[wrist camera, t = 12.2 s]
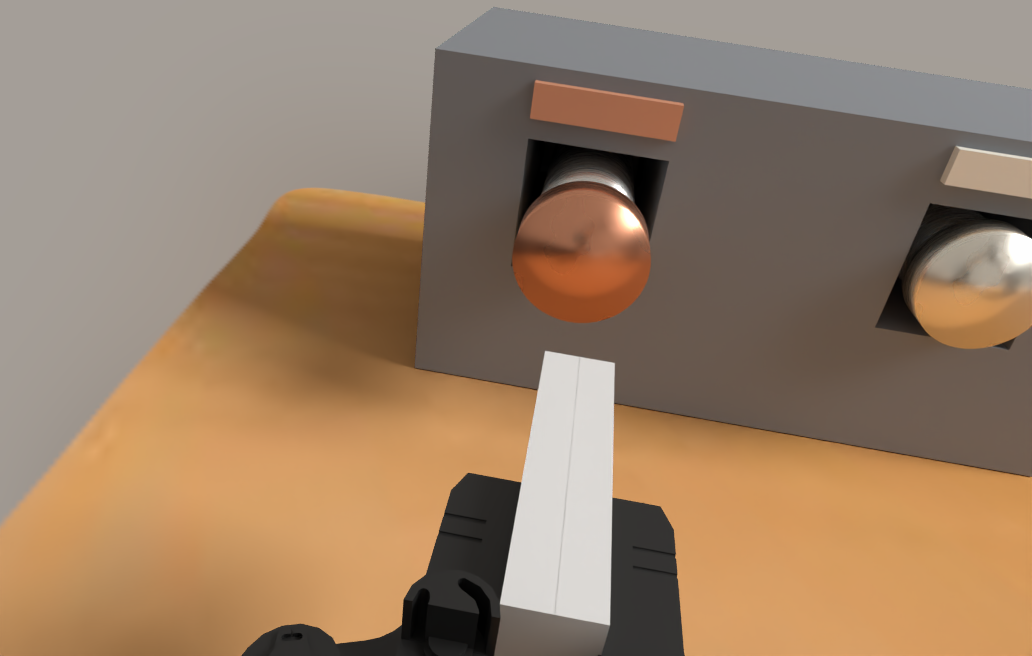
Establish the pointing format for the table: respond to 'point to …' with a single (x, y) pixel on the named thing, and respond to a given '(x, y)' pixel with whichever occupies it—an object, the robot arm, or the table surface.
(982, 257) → the silver metal peg
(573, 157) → the plug terracotta
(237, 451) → the table surface
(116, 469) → the table surface
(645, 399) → the housing
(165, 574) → the table surface
